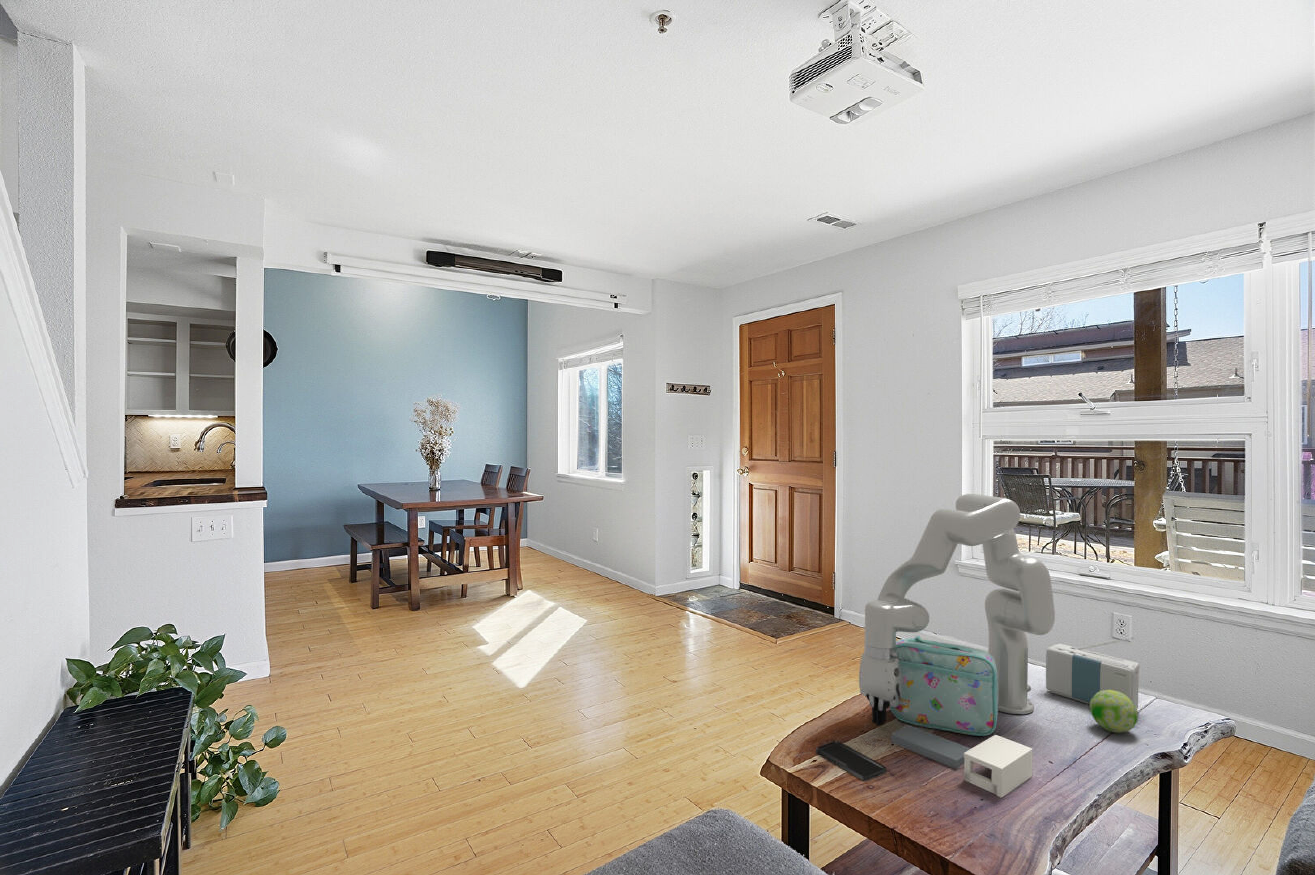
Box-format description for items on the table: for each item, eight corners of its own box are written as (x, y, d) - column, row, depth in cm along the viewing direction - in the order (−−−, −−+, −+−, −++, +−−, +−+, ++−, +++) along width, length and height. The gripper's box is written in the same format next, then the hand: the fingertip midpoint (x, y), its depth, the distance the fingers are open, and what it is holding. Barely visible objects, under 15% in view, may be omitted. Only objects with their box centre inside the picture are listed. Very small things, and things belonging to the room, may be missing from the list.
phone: (837, 740, 155) (889, 768, 142) (837, 745, 155) (888, 773, 142) (813, 748, 151) (864, 778, 138) (813, 753, 151) (864, 783, 138)
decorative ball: (1140, 730, 162) (1141, 691, 162) (1133, 744, 155) (1133, 703, 155) (1094, 718, 169) (1094, 680, 169) (1085, 730, 162) (1085, 691, 162)
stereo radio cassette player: (1044, 693, 185) (1045, 624, 185) (1056, 686, 190) (1057, 619, 189) (1130, 720, 168) (1131, 644, 168) (1141, 712, 173) (1143, 638, 173)
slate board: (908, 734, 161) (908, 724, 161) (973, 759, 148) (973, 749, 148) (890, 744, 156) (891, 734, 156) (957, 771, 143) (957, 760, 143)
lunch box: (881, 721, 167) (882, 638, 167) (887, 706, 176) (888, 628, 176) (997, 745, 154) (998, 656, 154) (997, 727, 164) (998, 643, 163)
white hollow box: (995, 760, 147) (995, 734, 147) (1032, 776, 141) (1032, 748, 140) (963, 780, 139) (963, 753, 139) (1001, 798, 132) (1002, 769, 132)
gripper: (915, 656, 159) (914, 730, 159) (863, 640, 171) (862, 709, 171) (897, 663, 155) (896, 739, 155) (846, 646, 167) (845, 716, 167)
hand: (878, 723), depth 163 cm, fingers closed
